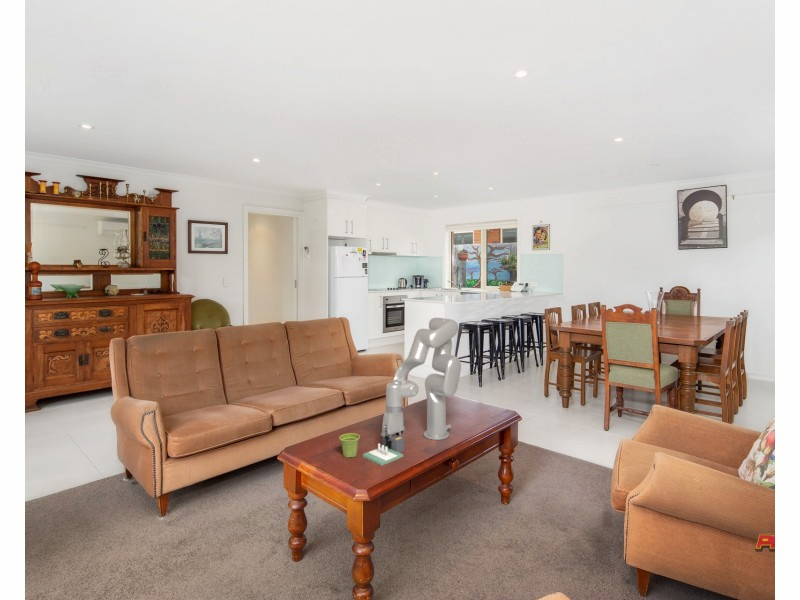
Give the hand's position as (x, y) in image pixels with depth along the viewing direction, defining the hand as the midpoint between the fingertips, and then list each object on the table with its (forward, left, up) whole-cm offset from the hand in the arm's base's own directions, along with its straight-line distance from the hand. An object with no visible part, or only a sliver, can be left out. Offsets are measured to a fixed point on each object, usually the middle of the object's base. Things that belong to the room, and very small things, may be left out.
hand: (393, 446), depth 215 cm
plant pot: (+19, -9, -2) cm, 21 cm away
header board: (+9, +3, -1) cm, 10 cm away
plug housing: (0, 0, -1) cm, 1 cm away
